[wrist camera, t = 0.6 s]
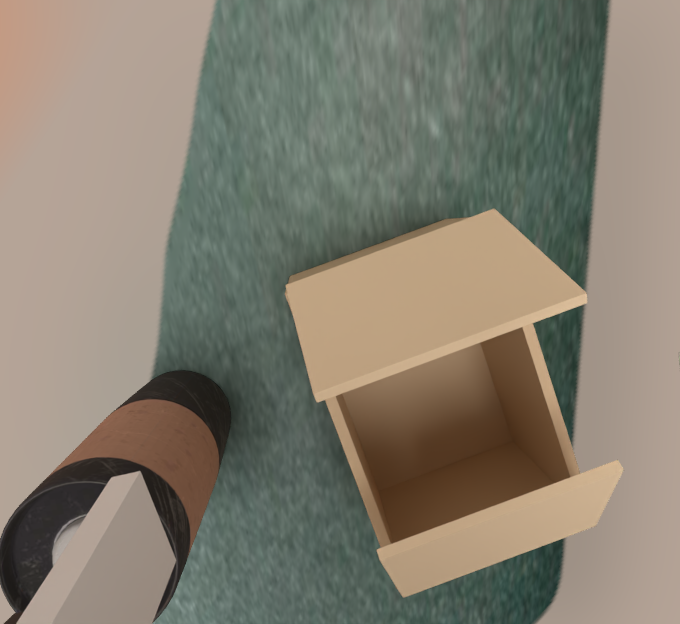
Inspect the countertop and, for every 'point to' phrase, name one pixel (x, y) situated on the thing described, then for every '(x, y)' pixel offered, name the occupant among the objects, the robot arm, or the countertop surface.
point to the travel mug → (118, 459)
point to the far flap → (500, 531)
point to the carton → (451, 429)
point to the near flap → (423, 301)
